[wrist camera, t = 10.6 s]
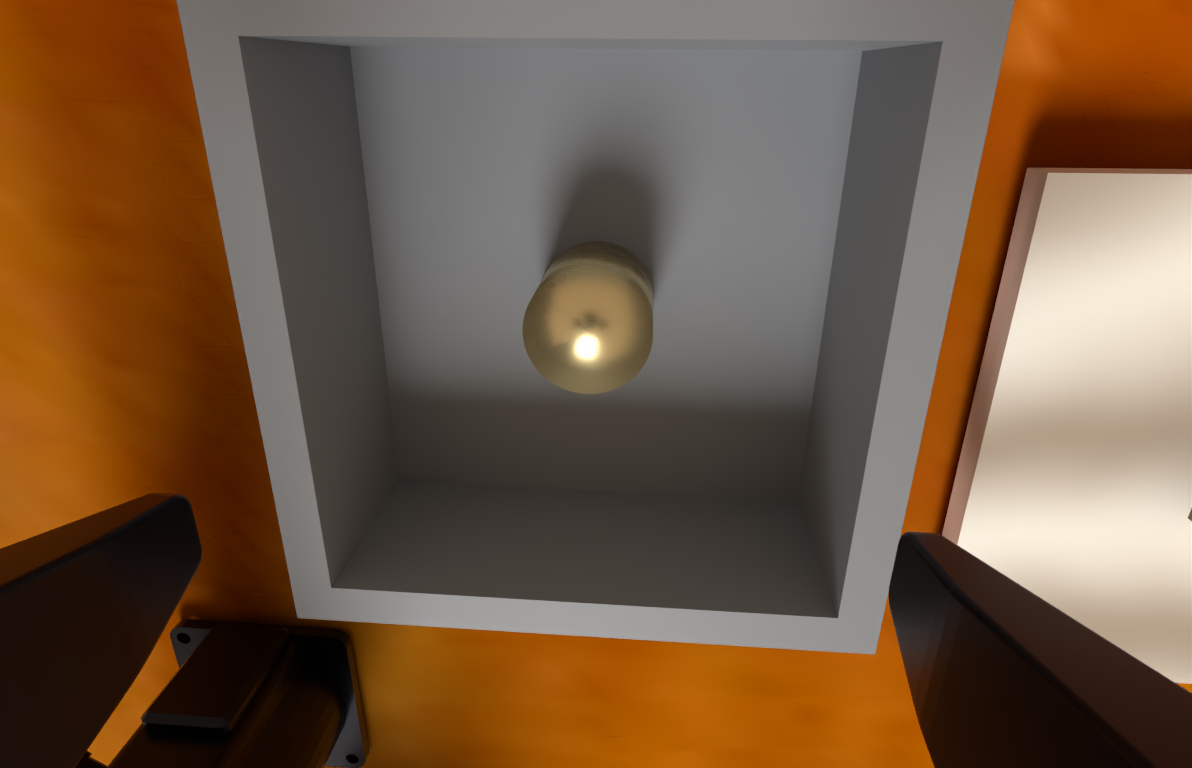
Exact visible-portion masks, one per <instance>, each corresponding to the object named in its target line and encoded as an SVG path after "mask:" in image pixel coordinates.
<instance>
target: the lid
mask: <svg viewBox="0 0 1192 768" xmlns="http://www.w3.org/2000/svg"><path fill="white" fill-rule="evenodd" d="M942 536H944V537H945V538H947V539H948V540H950V541H952V542H953V543H955V544H956V545H958V546H960V547H961V548H963V549H964V550H966V551H967V552H969V553H971V554H972V555H974V556H975V557H977V558H979V559H980V560H982V561H983V562H985V563H986V564H988V565H990V566H991V567H993V568H994V569H996V570H998V571H999V572H1001V573H1002V574H1004V575H1005V576H1007V577H1009V578H1010V579H1012V580H1013V581H1015V582H1016V583H1018V584H1020V585H1021V586H1023V587H1024V588H1026V589H1028V590H1029V591H1031V592H1032V593H1034V594H1035V595H1037V596H1039V597H1040V598H1042V599H1043V600H1045V601H1047V602H1048V603H1050V604H1051V605H1053V606H1054V607H1056V608H1058V609H1059V610H1061V611H1062V612H1064V613H1066V614H1067V615H1069V616H1070V617H1072V618H1073V619H1075V620H1077V621H1078V622H1080V623H1081V624H1083V625H1084V626H1086V627H1088V628H1089V629H1091V630H1092V631H1094V632H1096V633H1097V634H1099V635H1100V636H1102V637H1103V638H1105V639H1107V640H1108V641H1110V642H1111V643H1113V644H1115V645H1116V646H1118V647H1119V648H1121V649H1122V650H1124V651H1126V652H1127V653H1129V654H1130V655H1132V656H1134V657H1135V658H1137V659H1138V660H1140V661H1141V662H1143V663H1145V664H1146V665H1148V666H1149V667H1151V668H1153V669H1154V670H1156V671H1157V672H1159V673H1160V674H1162V675H1164V676H1165V677H1167V678H1168V679H1170V680H1171V681H1173V682H1175V683H1188V684H1192V169H1127V168H1027V171H1026V175H1025V179H1024V184H1023V188H1022V192H1021V197H1020V201H1019V205H1018V209H1017V214H1016V218H1015V222H1014V227H1013V231H1012V235H1011V240H1010V244H1009V248H1008V253H1007V257H1006V261H1005V265H1004V270H1003V274H1002V278H1001V283H1000V287H999V291H998V296H997V300H996V304H995V308H994V313H993V317H992V321H991V326H990V330H989V334H988V339H987V343H986V347H985V352H984V356H983V360H982V364H981V369H980V373H979V377H978V382H977V386H976V390H975V395H974V399H973V403H972V407H971V412H970V416H969V420H968V425H967V429H966V433H965V438H964V442H963V446H962V451H961V455H960V459H959V463H958V468H957V472H956V476H955V481H954V485H953V489H952V494H951V498H950V502H949V506H948V511H947V515H946V519H945V524H944V528H943V532H942Z"/></svg>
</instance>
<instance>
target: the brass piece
mask: <svg viewBox="0 0 1192 768" xmlns="http://www.w3.org/2000/svg"><path fill="white" fill-rule="evenodd" d="M653 302H654V298H653V286H652V282H651V279H650V276H649V274H648V272H647V270H646V269H645V267H644V265H643V264H642V263H641V262H640V260H639V259H638V258H637V257H636V256H635V255H633V254H632V253H631V252H629V251H628V250H627V249H625V248H623V247H621V246H619V245H616V244H613V243H609V242H603V241H589V242H583V243H580V244H577V245H574V246H572V247H570V248H568V249H567V250H565V251H563V252H562V253H561V254H560V255H559V256H557V258H556V259H555V260H554V261H553V262H552V263H551V265H550V266H549V268H548V270H547V271H546V273H545V275H544V277H543V279H542V280H541V282H540V284H539V286H538V288H537V289H536V291H535V293H534V295H533V296H532V298H531V300H530V302H529V304H528V306H527V308H526V311H525V314H524V319H523V328H522V333H523V341H524V346H525V349H526V352H527V354H528V356H529V358H530V360H531V362H532V363H533V365H534V366H535V368H536V369H537V370H538V371H539V372H540V373H541V374H542V375H543V376H544V377H545V378H546V379H547V380H549V381H550V382H552V383H553V384H555V385H556V386H559V387H561V388H563V389H565V390H568V391H571V392H576V393H582V394H598V393H604V392H608V391H612V390H614V389H616V388H619V387H621V386H622V385H624V384H626V383H627V382H629V381H630V380H631V379H633V378H634V377H635V376H636V375H637V374H638V373H639V371H640V370H641V369H642V368H643V366H644V364H645V363H646V361H647V359H648V357H649V354H650V351H651V347H652V342H653Z"/></svg>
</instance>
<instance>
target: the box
mask: <svg viewBox="0 0 1192 768" xmlns="http://www.w3.org/2000/svg"><path fill="white" fill-rule="evenodd" d="M1014 2H1015V0H177V5H178V10H179V15H180V21H181V26H182V31H183V36H184V41H185V46H186V51H187V56H188V61H189V67H190V72H191V77H192V82H193V87H194V92H195V97H196V102H197V107H198V113H199V118H200V123H201V128H202V133H203V138H204V143H205V148H206V153H207V159H208V164H209V169H210V174H211V179H212V184H213V189H214V194H215V199H216V205H217V210H218V215H219V220H220V225H221V230H222V235H223V240H224V245H225V251H226V256H227V261H228V266H229V271H230V276H231V281H232V286H233V291H234V297H235V302H236V307H237V312H238V317H239V322H240V327H241V332H242V337H243V343H244V348H245V353H246V358H247V363H248V368H249V373H250V378H251V383H252V389H253V394H254V399H255V404H256V409H257V414H258V419H259V424H260V429H261V435H262V440H263V445H264V450H265V455H266V460H267V465H268V470H269V475H270V481H271V486H272V491H273V496H274V501H275V506H276V511H277V516H278V521H279V527H280V532H281V537H282V542H283V547H284V552H285V557H286V562H287V567H288V573H289V578H290V583H291V588H292V593H293V598H294V603H295V608H296V613H297V618H303V619H319V620H335V621H351V622H367V623H383V624H399V625H415V626H431V627H447V628H462V629H478V630H494V631H510V632H526V633H542V634H558V635H574V636H590V637H606V638H622V639H638V640H653V641H669V642H685V643H701V644H717V645H733V646H749V647H765V648H781V649H797V650H813V651H829V652H845V653H860V654H875V653H876V648H877V643H878V639H879V634H880V629H881V625H882V620H883V615H884V611H885V606H886V601H887V597H888V592H889V585H890V580H891V576H892V571H893V566H894V561H895V557H896V552H897V547H898V543H899V540H900V536H901V531H902V526H903V522H904V517H905V512H906V508H907V503H908V498H909V494H910V489H911V484H912V479H913V475H914V470H915V465H916V461H917V456H918V451H919V447H920V442H921V437H922V433H923V428H924V423H925V419H926V414H927V409H928V405H929V400H930V395H931V390H932V386H933V381H934V376H935V372H936V367H937V362H938V358H939V353H940V348H941V344H942V339H943V334H944V330H945V325H946V320H947V315H948V311H949V306H950V301H951V297H952V292H953V287H954V283H955V278H956V273H957V269H958V264H959V259H960V255H961V250H962V245H963V241H964V236H965V231H966V226H967V222H968V217H969V212H970V208H971V203H972V198H973V194H974V189H975V184H976V180H977V175H978V170H979V166H980V161H981V156H982V151H983V147H984V142H985V137H986V133H987V128H988V123H989V119H990V114H991V109H992V105H993V100H994V95H995V91H996V86H997V81H998V77H999V72H1000V67H1001V62H1002V58H1003V53H1004V48H1005V44H1006V39H1007V34H1008V30H1009V25H1010V20H1011V16H1012V11H1013V6H1014ZM589 241H603V242H609V243H613V244H616V245H619V246H621V247H623V248H625V249H627V250H628V251H629V252H631V253H632V254H633V255H635V256H636V257H637V258H638V259H639V260H640V262H641V263H642V264H643V265H644V267H645V269H646V270H647V272H648V274H649V276H650V279H651V282H652V286H653V298H654V302H653V342H652V347H651V351H650V354H649V357H648V359H647V361H646V363H645V364H644V366H643V368H642V369H641V370H640V371H639V373H638V374H637V375H636V376H635V377H634V378H633V379H631V380H630V381H629V382H627V383H626V384H624V385H622V386H621V387H619V388H616V389H614V390H612V391H608V392H604V393H598V394H582V393H576V392H571V391H568V390H565V389H563V388H561V387H559V386H556V385H555V384H553V383H552V382H550V381H549V380H547V379H546V378H545V377H544V376H543V375H542V374H541V373H540V372H539V371H538V370H537V369H536V368H535V366H534V365H533V363H532V362H531V360H530V358H529V356H528V354H527V352H526V349H525V346H524V341H523V333H522V328H523V319H524V314H525V311H526V308H527V306H528V304H529V302H530V300H531V298H532V296H533V295H534V293H535V291H536V289H537V288H538V286H539V284H540V282H541V280H542V279H543V277H544V275H545V273H546V271H547V270H548V268H549V266H550V265H551V263H552V262H553V261H554V260H555V259H556V258H557V256H559V255H560V254H561V253H562V252H563V251H565V250H567V249H568V248H570V247H572V246H574V245H577V244H580V243H583V242H589Z"/></svg>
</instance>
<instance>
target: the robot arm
mask: <svg viewBox="0 0 1192 768" xmlns="http://www.w3.org/2000/svg"><path fill="white" fill-rule="evenodd" d="M201 555H202V548H201V543H200V539H199V535H198V531H197V527H196V523H195V519H194V515H193V511H192V507H191V504H190V502H189V501H188V499H187V498H186V497H184V496H182V495H179V494H162V493H152V494H148V495H145V496H142V497H139V498H137V499H134V500H131V501H128V502H126V503H123V504H120V505H118V506H115V507H112V508H110V509H107V510H104V511H101V512H99V513H96V514H93V515H91V516H88V517H85V518H83V519H80V520H77V521H74V522H72V523H69V524H66V525H64V526H61V527H58V528H55V529H53V530H50V531H47V532H45V533H42V534H39V535H37V536H34V537H31V538H28V539H26V540H23V541H20V542H18V543H15V544H12V545H9V546H7V547H4V548H1V549H0V768H324V767H325V766H334V767H347V768H359V767H361V766H363V765H364V763H365V761H366V759H367V756H368V754H369V749H368V742H367V736H366V730H365V724H364V717H363V711H362V705H361V699H360V693H359V686H358V680H357V674H356V668H355V661H354V655H353V649H352V643H351V639H350V637H349V635H348V634H347V633H345V632H344V631H342V630H338V629H329V628H313V627H297V626H282V625H266V624H250V623H234V622H219V621H203V620H182V621H180V622H179V623H178V624H177V625H176V626H175V627H174V628H173V629H172V631H171V633H170V638H171V641H172V645H173V648H174V652H175V655H176V659H177V662H178V666H179V670H178V671H177V672H176V674H175V675H174V676H173V677H172V679H171V680H170V681H169V682H168V684H167V685H166V686H165V687H164V689H163V690H162V691H161V692H160V693H159V695H158V696H157V697H156V698H155V700H154V701H153V702H152V703H151V705H150V706H149V707H148V708H147V710H146V711H145V712H144V713H143V715H142V717H141V720H142V724H141V725H140V726H139V728H138V729H137V730H136V731H135V733H134V734H133V735H132V736H131V738H130V739H129V740H128V741H127V743H126V744H125V745H124V746H123V748H122V749H121V750H120V751H119V753H118V754H117V755H116V756H115V758H114V759H113V760H112V762H111V763H110V764H109V765H108V766H106V765H104V764H103V763H101V762H99V761H97V760H95V759H93V758H91V757H90V756H91V754H92V753H90V752H88V751H87V749H88V748H89V746H90V745H91V744H92V742H93V741H94V739H95V738H96V736H97V735H98V733H99V732H100V730H101V729H102V727H103V726H104V724H105V723H106V722H107V720H108V719H109V717H110V716H111V714H112V713H113V711H114V710H115V708H116V707H117V705H118V704H119V703H120V701H121V700H122V698H123V697H124V695H125V694H126V692H127V691H128V689H129V688H130V686H131V685H132V683H133V682H134V680H135V679H136V677H137V676H138V674H139V672H140V671H141V669H142V667H143V666H144V664H145V662H146V661H147V659H148V657H149V656H150V654H151V652H152V650H153V649H154V647H155V645H156V643H157V641H158V639H159V638H160V636H161V634H162V632H163V630H164V629H165V627H166V625H167V623H168V621H169V619H170V618H171V616H172V614H173V612H174V610H175V609H176V607H177V605H178V603H179V601H180V600H181V598H182V596H183V594H184V592H185V590H186V589H187V587H188V585H189V583H190V581H191V580H192V578H193V576H194V574H195V572H196V570H197V569H198V566H199V564H200V560H201ZM889 605H890V610H891V614H892V618H893V622H894V626H895V630H896V634H897V638H898V642H899V646H900V651H901V655H902V659H903V663H904V667H905V671H906V675H907V679H908V683H909V687H910V691H911V695H912V699H913V703H914V707H915V711H916V714H917V718H918V722H919V725H920V728H921V731H922V734H923V737H924V740H925V743H926V745H927V748H928V751H929V754H930V756H931V759H932V762H933V764H934V767H935V768H1192V693H1190V692H1189V691H1187V690H1186V689H1184V688H1183V687H1181V686H1179V685H1178V684H1176V683H1175V682H1173V681H1171V680H1170V679H1168V678H1167V677H1165V676H1164V675H1162V674H1160V673H1159V672H1157V671H1156V670H1154V669H1153V668H1151V667H1149V666H1148V665H1146V664H1145V663H1143V662H1141V661H1140V660H1138V659H1137V658H1135V657H1134V656H1132V655H1130V654H1129V653H1127V652H1126V651H1124V650H1122V649H1121V648H1119V647H1118V646H1116V645H1115V644H1113V643H1111V642H1110V641H1108V640H1107V639H1105V638H1103V637H1102V636H1100V635H1099V634H1097V633H1096V632H1094V631H1092V630H1091V629H1089V628H1088V627H1086V626H1084V625H1083V624H1081V623H1080V622H1078V621H1077V620H1075V619H1073V618H1072V617H1070V616H1069V615H1067V614H1066V613H1064V612H1062V611H1061V610H1059V609H1058V608H1056V607H1054V606H1053V605H1051V604H1050V603H1048V602H1047V601H1045V600H1043V599H1042V598H1040V597H1039V596H1037V595H1035V594H1034V593H1032V592H1031V591H1029V590H1028V589H1026V588H1024V587H1023V586H1021V585H1020V584H1018V583H1016V582H1015V581H1013V580H1012V579H1010V578H1009V577H1007V576H1005V575H1004V574H1002V573H1001V572H999V571H998V570H996V569H994V568H993V567H991V566H990V565H988V564H986V563H985V562H983V561H982V560H980V559H979V558H977V557H975V556H974V555H972V554H971V553H969V552H967V551H966V550H964V549H963V548H961V547H960V546H958V545H956V544H955V543H953V542H952V541H950V540H948V539H947V538H945V537H944V536H942V535H940V534H937V533H922V532H906V533H905V534H903V535H902V536H901V538H900V540H899V543H898V547H897V552H896V557H895V561H894V566H893V571H892V576H891V580H890V585H889ZM332 642H333V643H332ZM334 643H336V644H337V645H335V644H334Z"/></svg>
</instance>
